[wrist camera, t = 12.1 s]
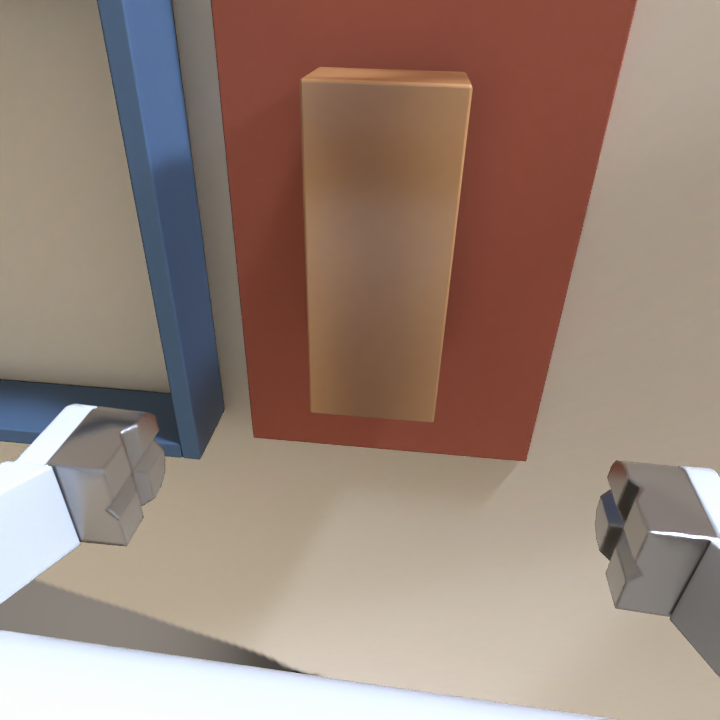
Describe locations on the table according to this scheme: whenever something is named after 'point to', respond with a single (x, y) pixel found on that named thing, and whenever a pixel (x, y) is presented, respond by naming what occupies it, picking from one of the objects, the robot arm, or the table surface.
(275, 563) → the table surface
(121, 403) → the rectangular frame
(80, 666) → the robot arm
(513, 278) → the mat
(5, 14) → the table surface
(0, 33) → the table surface
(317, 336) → the brown rectangular block
